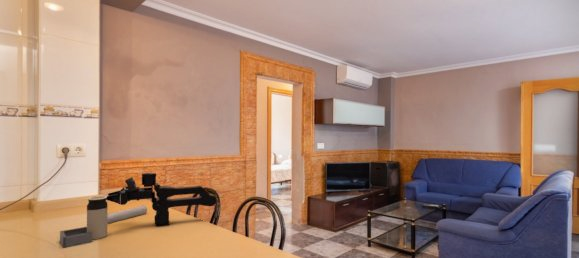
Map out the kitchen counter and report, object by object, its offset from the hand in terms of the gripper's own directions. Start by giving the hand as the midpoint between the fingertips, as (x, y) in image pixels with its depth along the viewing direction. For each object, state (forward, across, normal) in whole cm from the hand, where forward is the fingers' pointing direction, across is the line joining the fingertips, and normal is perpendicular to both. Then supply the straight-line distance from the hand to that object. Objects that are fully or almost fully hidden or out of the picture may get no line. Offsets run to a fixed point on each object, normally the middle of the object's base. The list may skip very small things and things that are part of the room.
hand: (106, 196), depth 149 cm
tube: (-5, -20, +17) cm, 27 cm away
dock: (+10, +13, +16) cm, 23 cm away
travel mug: (+2, +10, +17) cm, 20 cm away
